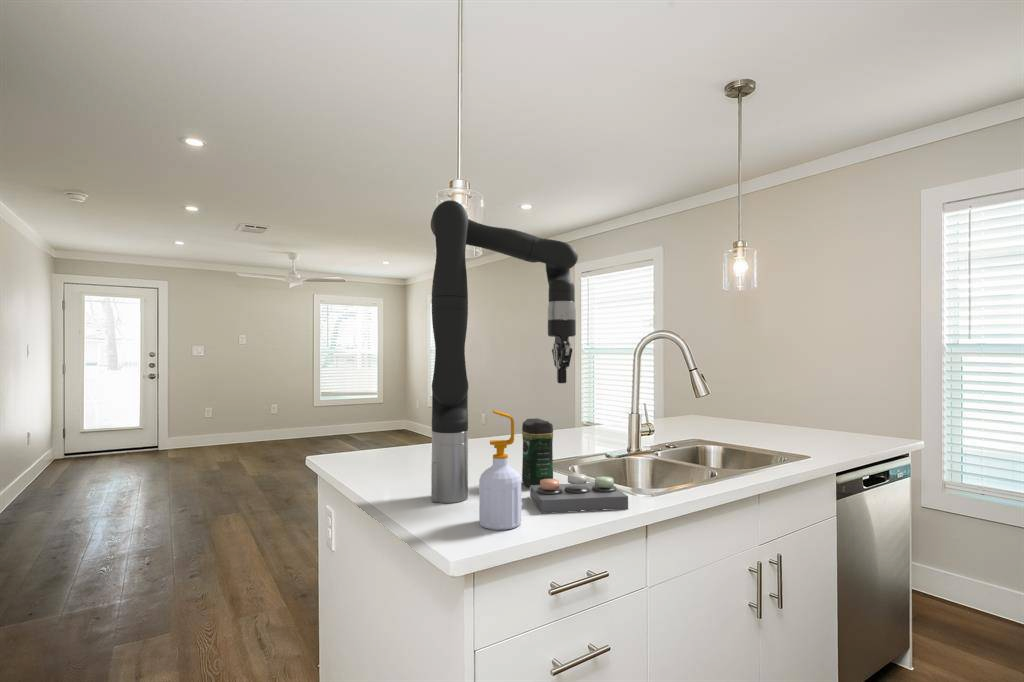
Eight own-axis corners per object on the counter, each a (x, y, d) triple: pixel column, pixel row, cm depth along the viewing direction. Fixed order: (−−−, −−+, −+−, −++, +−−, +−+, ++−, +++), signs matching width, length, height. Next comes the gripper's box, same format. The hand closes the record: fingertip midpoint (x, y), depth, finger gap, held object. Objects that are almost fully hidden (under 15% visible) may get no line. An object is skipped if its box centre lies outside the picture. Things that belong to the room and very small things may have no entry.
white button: (570, 484, 128) (570, 478, 128) (565, 480, 132) (565, 473, 132) (588, 483, 128) (588, 477, 128) (583, 479, 133) (583, 473, 133)
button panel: (541, 513, 122) (541, 498, 122) (530, 497, 135) (530, 483, 136) (628, 509, 125) (628, 494, 125) (608, 493, 139) (608, 480, 139)
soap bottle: (478, 518, 118) (479, 408, 119) (519, 517, 119) (519, 408, 120) (479, 531, 109) (480, 412, 110) (523, 530, 110) (523, 412, 111)
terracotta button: (542, 490, 127) (542, 483, 127) (538, 485, 131) (538, 479, 131) (561, 489, 127) (561, 482, 127) (556, 484, 132) (556, 478, 132)
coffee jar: (557, 488, 145) (557, 420, 145) (530, 490, 142) (530, 421, 143) (544, 480, 154) (544, 416, 154) (518, 482, 151) (518, 417, 152)
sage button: (598, 487, 129) (598, 481, 129) (592, 483, 133) (592, 476, 133) (616, 487, 130) (616, 480, 130) (609, 482, 134) (609, 476, 134)
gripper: (542, 320, 148) (542, 382, 148) (553, 317, 135) (554, 384, 135) (568, 320, 149) (568, 381, 149) (582, 317, 136) (582, 384, 136)
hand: (561, 383), depth 142 cm, fingers closed
